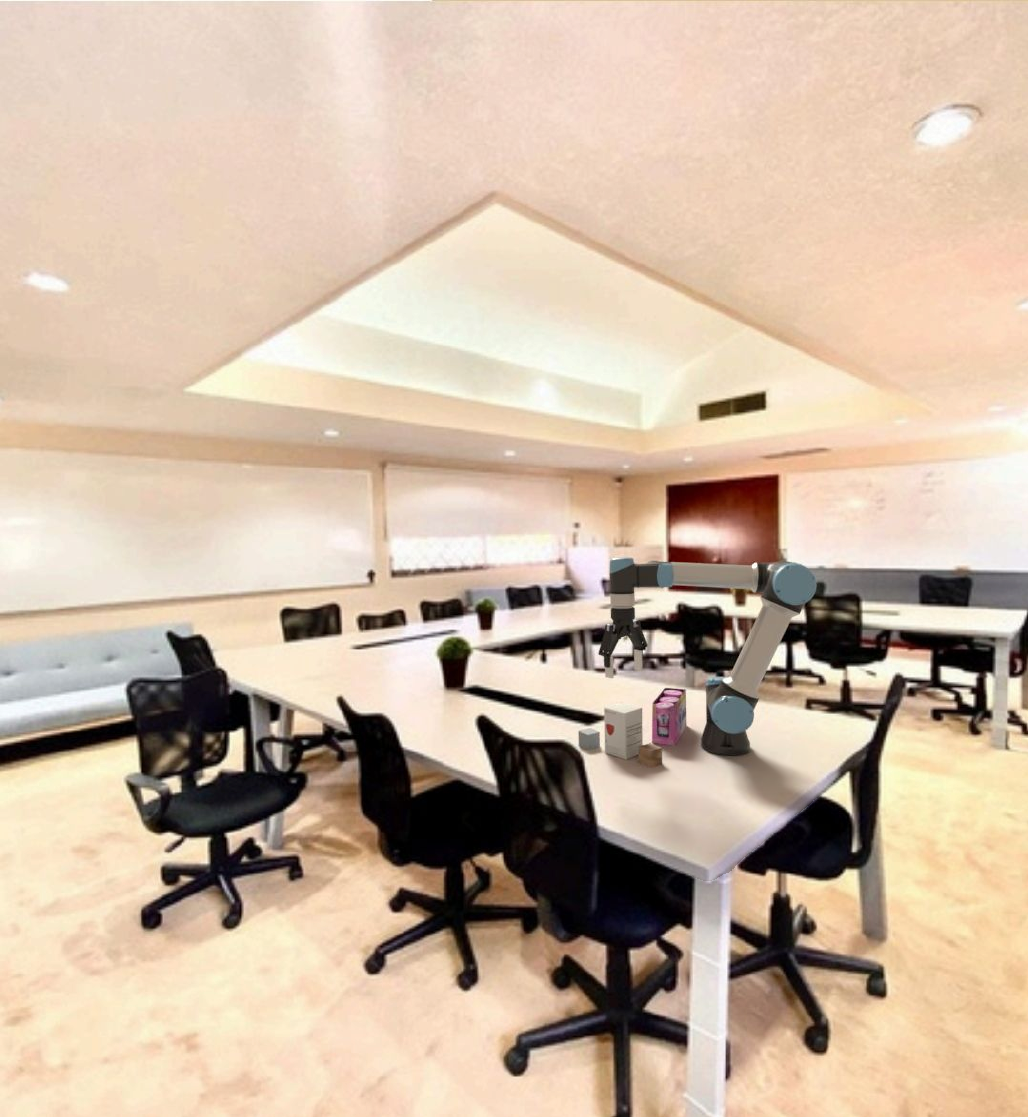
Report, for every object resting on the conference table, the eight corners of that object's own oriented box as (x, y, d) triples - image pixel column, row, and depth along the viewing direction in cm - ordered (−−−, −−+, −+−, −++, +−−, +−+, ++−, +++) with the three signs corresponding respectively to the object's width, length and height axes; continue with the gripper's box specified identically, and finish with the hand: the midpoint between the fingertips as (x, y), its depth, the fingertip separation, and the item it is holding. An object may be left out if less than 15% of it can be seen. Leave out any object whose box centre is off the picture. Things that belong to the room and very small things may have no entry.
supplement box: (603, 752, 194) (602, 707, 194) (621, 746, 200) (620, 701, 199) (625, 760, 187) (624, 713, 187) (643, 753, 193) (642, 707, 192)
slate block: (590, 742, 204) (590, 728, 204) (599, 746, 200) (599, 732, 200) (578, 745, 202) (578, 730, 201) (588, 749, 197) (587, 734, 197)
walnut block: (650, 759, 188) (650, 743, 188) (662, 763, 184) (661, 747, 184) (638, 762, 186) (638, 746, 185) (650, 767, 181) (649, 751, 181)
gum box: (674, 747, 197) (674, 706, 197) (650, 744, 201) (649, 704, 200) (687, 725, 219) (686, 689, 218) (665, 723, 222) (664, 687, 222)
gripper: (639, 602, 199) (640, 665, 199) (585, 609, 183) (587, 678, 184) (657, 603, 193) (659, 669, 193) (603, 611, 177) (605, 682, 178)
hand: (624, 674), depth 189 cm, fingers open, 13 cm apart
